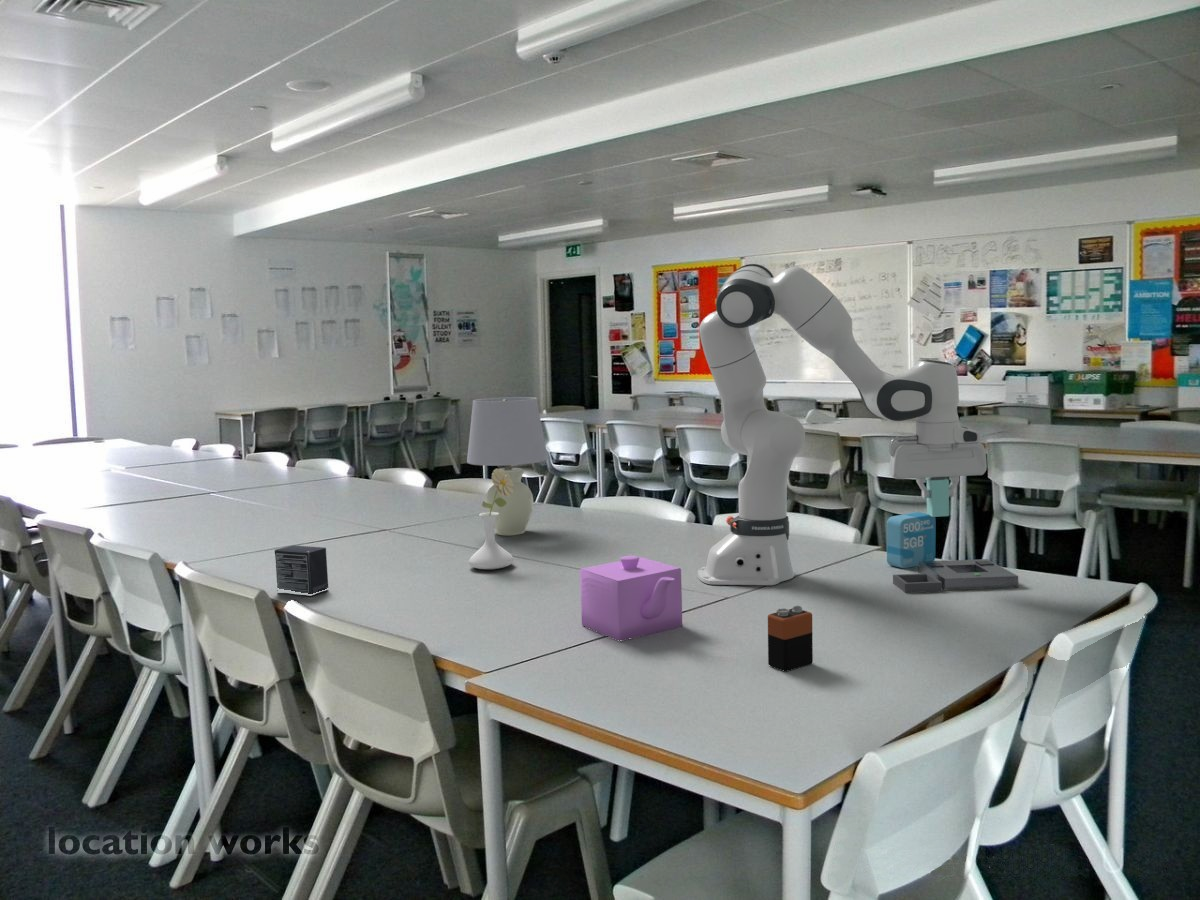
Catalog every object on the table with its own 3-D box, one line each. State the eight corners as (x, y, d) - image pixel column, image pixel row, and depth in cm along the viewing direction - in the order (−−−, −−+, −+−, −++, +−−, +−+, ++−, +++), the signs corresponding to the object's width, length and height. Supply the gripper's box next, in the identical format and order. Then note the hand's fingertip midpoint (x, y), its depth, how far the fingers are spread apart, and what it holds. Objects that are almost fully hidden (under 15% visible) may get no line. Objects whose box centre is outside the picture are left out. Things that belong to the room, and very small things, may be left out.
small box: (330, 590, 223) (327, 546, 221) (311, 597, 217) (308, 552, 216) (296, 586, 227) (293, 543, 226) (276, 593, 221) (273, 549, 220)
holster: (905, 592, 204) (905, 583, 204) (892, 583, 212) (892, 574, 212) (941, 591, 204) (941, 582, 204) (928, 582, 212) (928, 573, 212)
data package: (900, 569, 224) (900, 519, 223) (886, 566, 228) (886, 517, 227) (935, 562, 230) (936, 513, 229) (921, 559, 234) (921, 511, 233)
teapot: (642, 651, 172) (640, 576, 170) (568, 620, 192) (566, 553, 191) (706, 635, 180) (704, 562, 178) (629, 607, 201) (627, 542, 199)
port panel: (944, 590, 205) (944, 577, 205) (918, 572, 221) (918, 560, 221) (1018, 587, 205) (1018, 575, 205) (986, 569, 221) (986, 558, 221)
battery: (766, 666, 162) (766, 609, 161) (795, 657, 166) (795, 601, 164) (785, 673, 158) (784, 614, 157) (814, 664, 162) (813, 607, 161)
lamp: (548, 539, 271) (542, 400, 267) (464, 542, 272) (457, 403, 267) (553, 523, 295) (548, 395, 290) (476, 526, 295) (470, 398, 291)
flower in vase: (485, 575, 232) (480, 474, 229) (460, 568, 240) (455, 470, 238) (528, 565, 240) (524, 468, 238) (502, 559, 249) (497, 464, 246)
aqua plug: (932, 516, 206) (932, 476, 205) (926, 513, 210) (926, 474, 208) (949, 516, 206) (948, 476, 205) (943, 512, 209) (942, 473, 208)
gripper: (893, 438, 202) (894, 502, 204) (989, 433, 202) (989, 497, 204) (885, 435, 209) (886, 497, 210) (977, 430, 209) (978, 492, 210)
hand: (937, 497), depth 207 cm, fingers closed on aqua plug, 4 cm apart
